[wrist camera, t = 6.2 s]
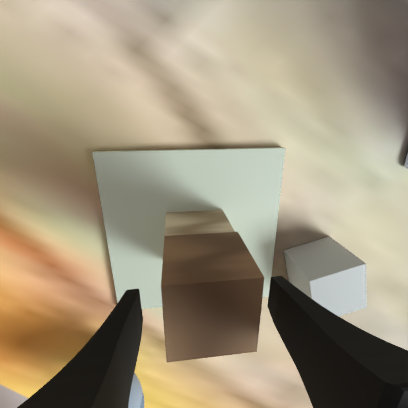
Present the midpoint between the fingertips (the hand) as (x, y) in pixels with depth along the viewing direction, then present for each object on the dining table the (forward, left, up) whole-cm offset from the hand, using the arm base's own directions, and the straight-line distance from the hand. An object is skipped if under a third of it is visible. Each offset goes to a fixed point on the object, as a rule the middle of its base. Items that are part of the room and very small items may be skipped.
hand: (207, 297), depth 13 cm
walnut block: (0, 0, -3) cm, 3 cm away
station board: (0, 0, -8) cm, 8 cm away
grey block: (-11, +4, -8) cm, 14 cm away
